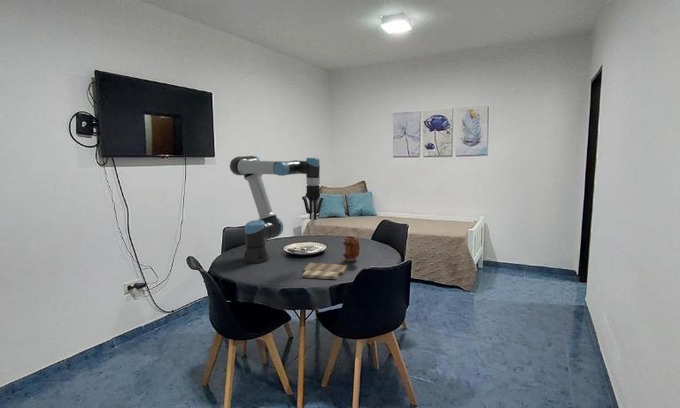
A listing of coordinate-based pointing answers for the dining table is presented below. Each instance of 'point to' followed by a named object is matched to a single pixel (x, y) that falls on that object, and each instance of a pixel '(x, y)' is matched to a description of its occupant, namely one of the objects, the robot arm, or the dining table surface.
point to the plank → (321, 274)
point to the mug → (351, 248)
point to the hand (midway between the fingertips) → (313, 225)
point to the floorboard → (326, 267)
